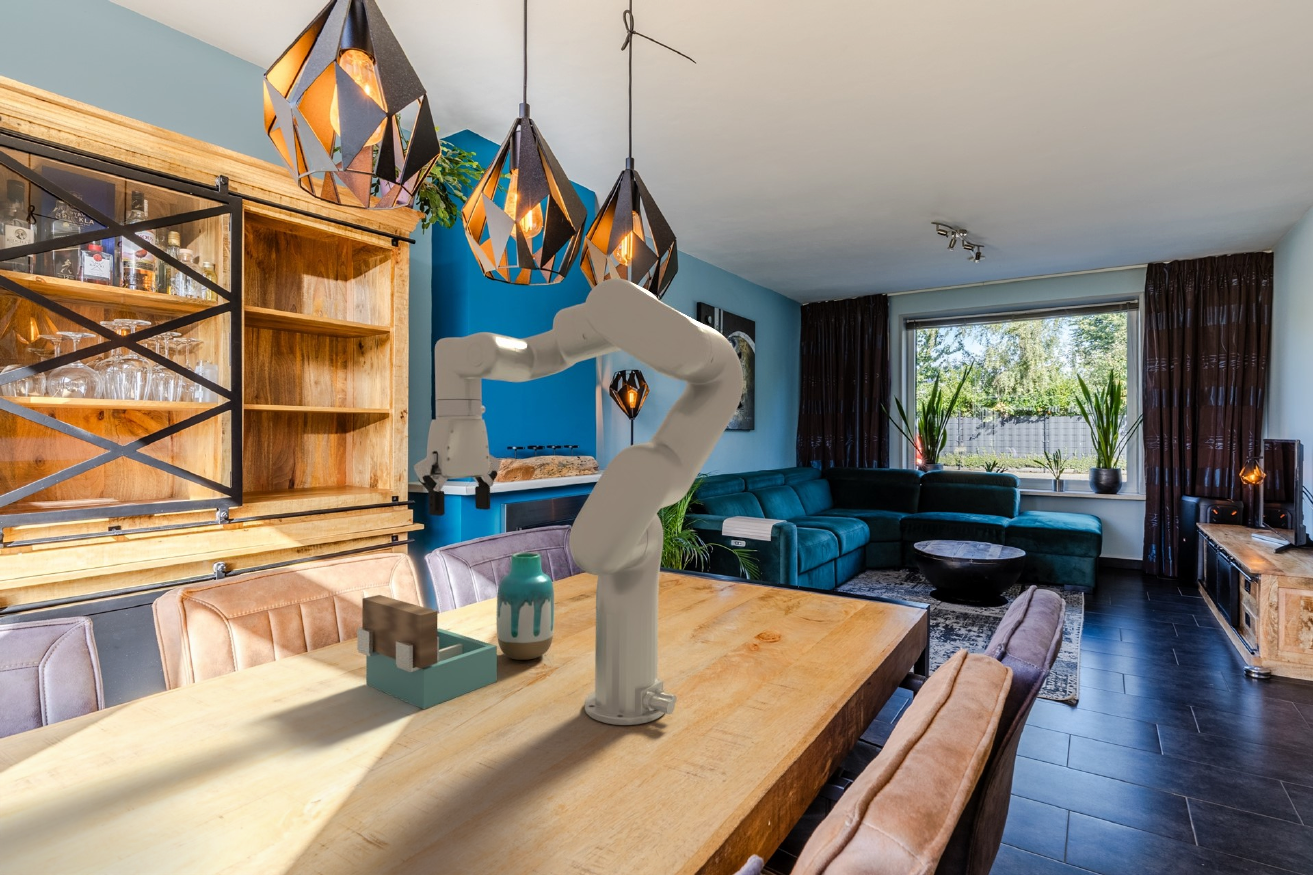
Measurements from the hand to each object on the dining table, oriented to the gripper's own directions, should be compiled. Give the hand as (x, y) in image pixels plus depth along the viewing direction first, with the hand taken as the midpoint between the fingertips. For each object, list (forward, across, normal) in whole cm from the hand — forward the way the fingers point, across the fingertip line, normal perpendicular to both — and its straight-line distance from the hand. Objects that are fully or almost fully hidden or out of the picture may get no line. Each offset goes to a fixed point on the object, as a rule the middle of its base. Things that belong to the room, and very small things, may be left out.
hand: (460, 512), depth 112 cm
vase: (+29, -14, +1) cm, 32 cm away
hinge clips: (+22, +11, -3) cm, 25 cm away
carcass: (+28, +4, -3) cm, 29 cm away
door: (+22, +11, -3) cm, 24 cm away
